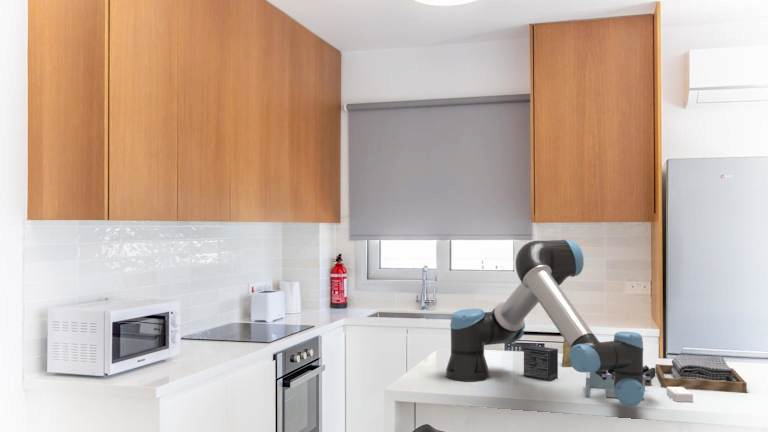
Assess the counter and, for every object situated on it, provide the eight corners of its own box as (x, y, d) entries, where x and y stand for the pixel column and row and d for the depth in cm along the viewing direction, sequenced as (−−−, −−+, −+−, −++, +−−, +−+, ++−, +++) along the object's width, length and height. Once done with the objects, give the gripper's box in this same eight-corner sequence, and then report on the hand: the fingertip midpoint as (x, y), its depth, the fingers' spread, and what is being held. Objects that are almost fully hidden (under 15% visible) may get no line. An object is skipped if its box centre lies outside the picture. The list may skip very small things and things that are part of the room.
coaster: (606, 397, 215) (606, 396, 215) (605, 389, 226) (605, 388, 226) (644, 400, 212) (644, 399, 212) (641, 391, 223) (641, 390, 223)
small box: (559, 378, 242) (559, 348, 242) (549, 381, 237) (549, 351, 237) (532, 373, 249) (532, 344, 249) (522, 376, 244) (522, 347, 244)
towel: (670, 375, 247) (670, 353, 247) (725, 378, 243) (725, 355, 243) (678, 385, 232) (678, 362, 232) (738, 388, 228) (738, 365, 228)
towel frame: (661, 387, 229) (661, 378, 229) (655, 372, 250) (655, 364, 250) (746, 392, 221) (746, 383, 221) (732, 377, 243) (732, 368, 243)
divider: (586, 396, 217) (586, 377, 217) (586, 386, 230) (586, 368, 230) (647, 401, 211) (647, 381, 211) (644, 390, 225) (644, 371, 225)
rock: (587, 356, 268) (561, 351, 270) (591, 341, 263) (564, 336, 265) (586, 377, 260) (559, 373, 262) (590, 362, 255) (562, 358, 257)
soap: (693, 403, 210) (693, 393, 210) (675, 402, 211) (675, 393, 211) (683, 395, 219) (683, 386, 219) (665, 395, 220) (665, 385, 220)
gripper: (585, 391, 205) (586, 374, 226) (669, 396, 199) (661, 379, 220) (585, 365, 205) (586, 351, 226) (669, 370, 199) (661, 355, 220)
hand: (623, 365), depth 223 cm, fingers open, 10 cm apart
